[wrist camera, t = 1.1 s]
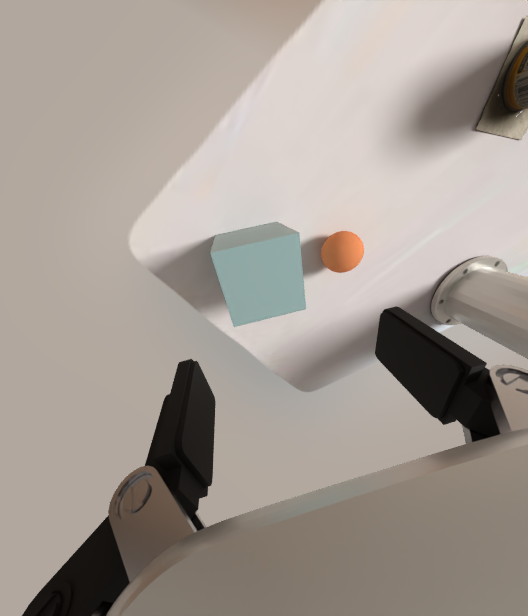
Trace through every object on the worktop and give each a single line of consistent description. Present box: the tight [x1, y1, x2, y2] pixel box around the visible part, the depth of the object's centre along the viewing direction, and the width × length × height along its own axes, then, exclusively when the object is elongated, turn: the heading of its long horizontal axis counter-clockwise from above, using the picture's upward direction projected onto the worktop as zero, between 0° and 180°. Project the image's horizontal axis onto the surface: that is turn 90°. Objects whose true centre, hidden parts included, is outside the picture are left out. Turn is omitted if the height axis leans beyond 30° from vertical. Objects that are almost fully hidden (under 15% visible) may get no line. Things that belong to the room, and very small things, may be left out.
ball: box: [321, 231, 364, 273], centre depth 25 cm, size 5×5×5 cm
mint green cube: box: [210, 222, 306, 327], centre depth 23 cm, size 8×8×9 cm
